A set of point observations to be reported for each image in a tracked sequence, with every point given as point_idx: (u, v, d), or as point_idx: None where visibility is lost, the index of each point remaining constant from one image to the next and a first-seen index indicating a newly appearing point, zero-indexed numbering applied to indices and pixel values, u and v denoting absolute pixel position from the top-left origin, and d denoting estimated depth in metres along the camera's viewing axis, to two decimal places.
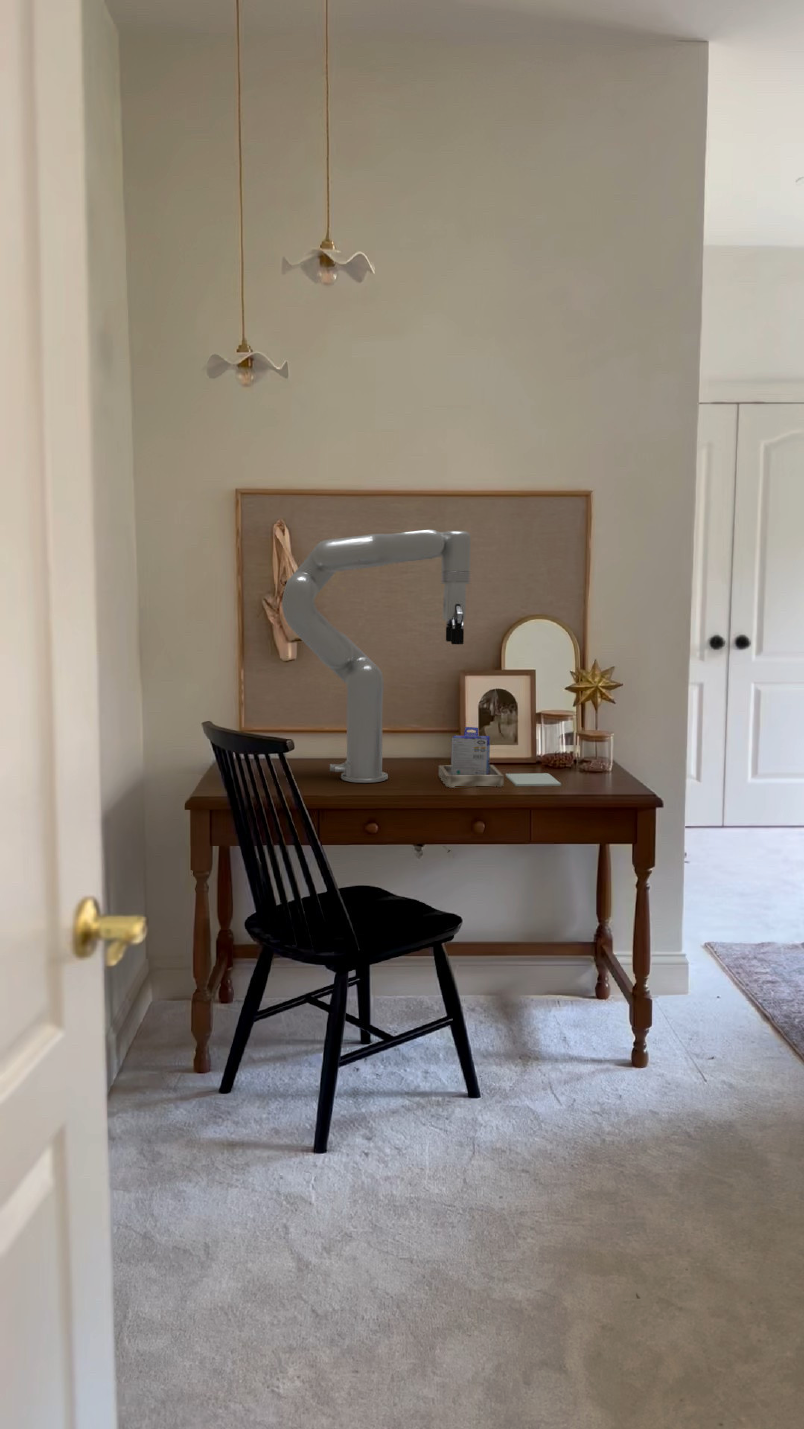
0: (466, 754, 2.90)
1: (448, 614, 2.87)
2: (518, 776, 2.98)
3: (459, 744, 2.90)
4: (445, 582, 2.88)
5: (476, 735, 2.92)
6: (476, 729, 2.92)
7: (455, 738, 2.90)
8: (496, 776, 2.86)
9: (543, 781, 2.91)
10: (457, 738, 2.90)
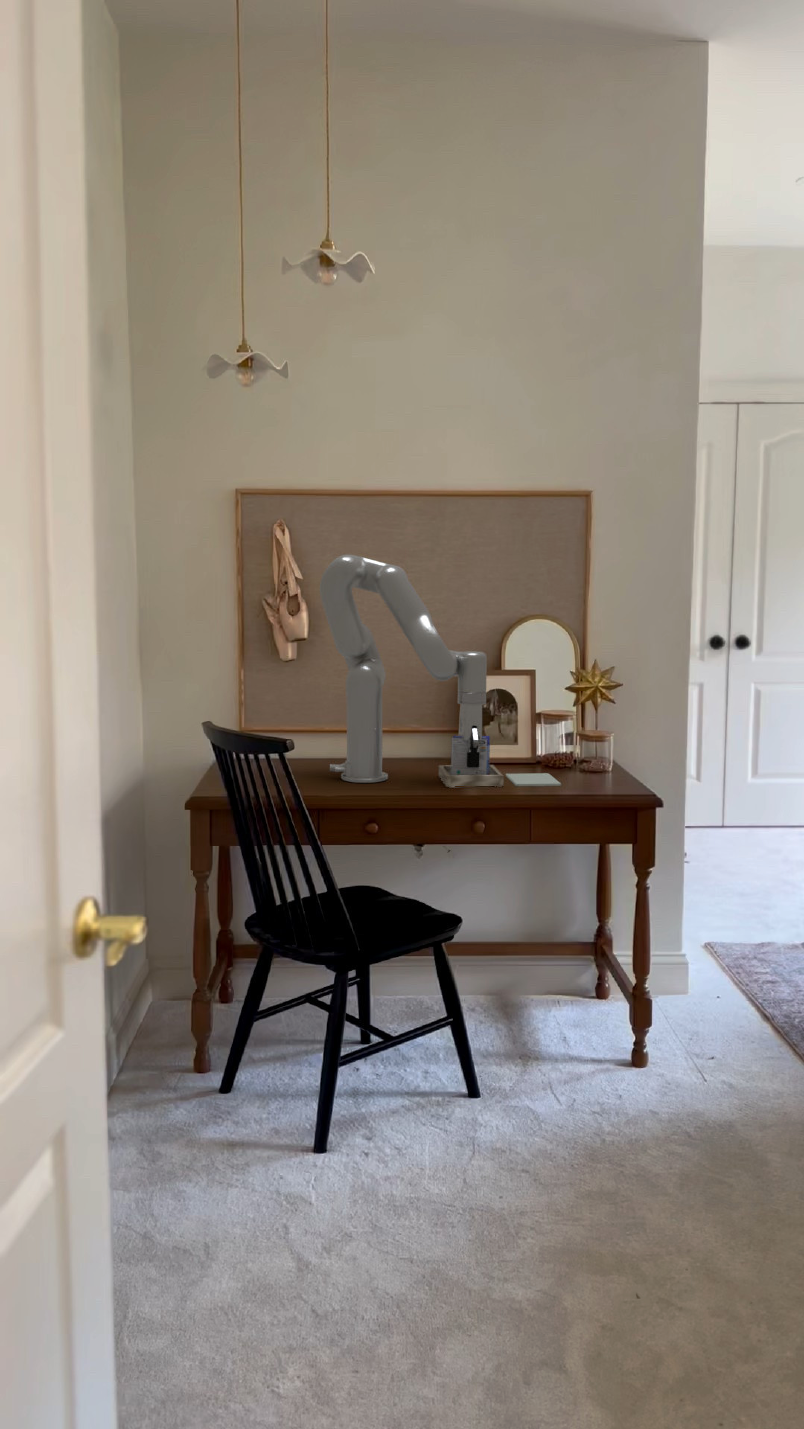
0: (466, 754, 2.90)
1: (464, 735, 2.86)
2: (518, 776, 2.98)
3: (459, 744, 2.90)
4: (461, 703, 2.88)
5: None
6: None
7: (455, 738, 2.90)
8: (496, 776, 2.86)
9: (543, 781, 2.91)
10: (457, 738, 2.90)
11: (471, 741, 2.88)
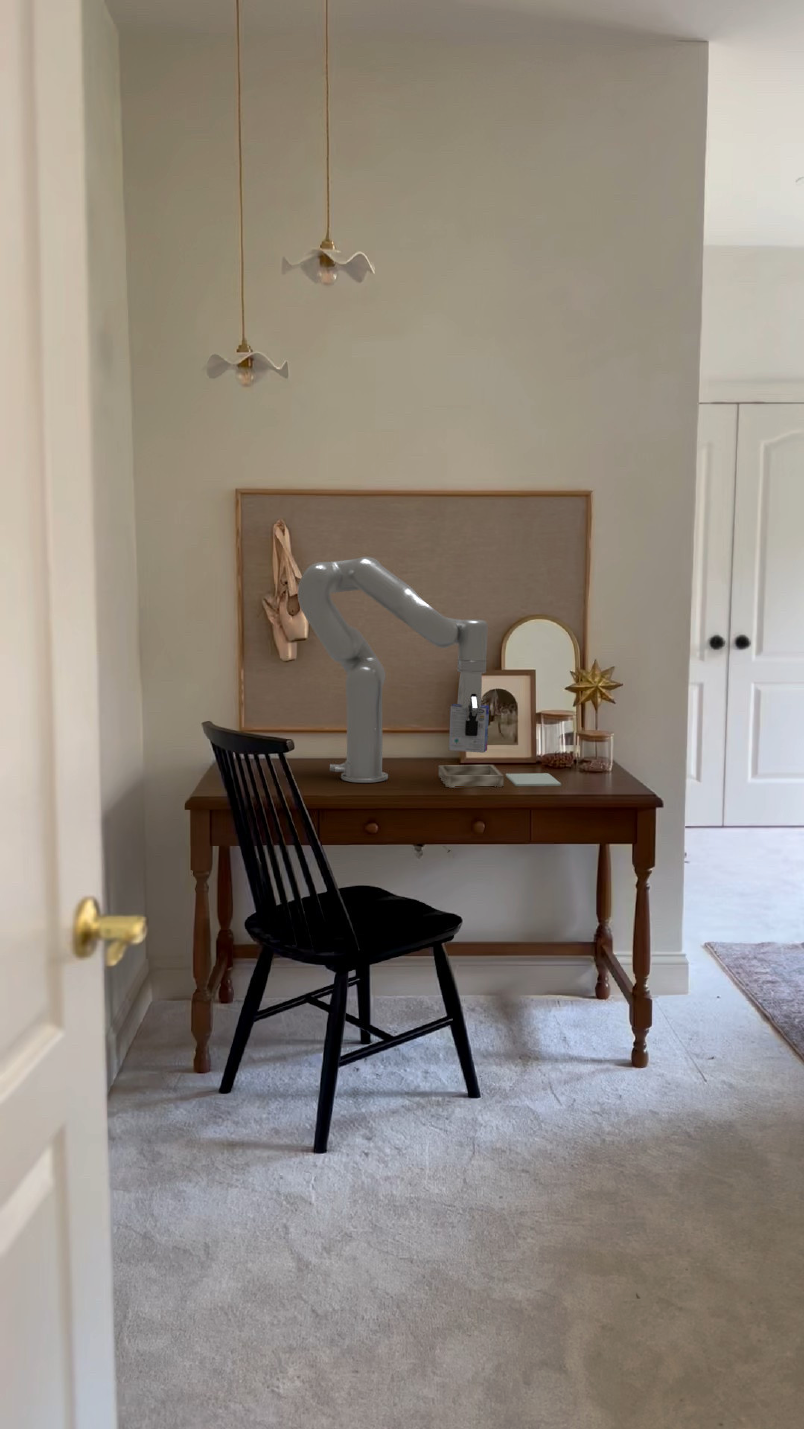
0: (465, 723, 2.89)
1: (464, 703, 2.85)
2: (518, 776, 2.98)
3: (458, 712, 2.89)
4: (461, 671, 2.87)
5: None
6: None
7: (454, 706, 2.89)
8: (496, 776, 2.86)
9: (543, 781, 2.91)
10: (456, 706, 2.89)
11: (470, 709, 2.87)
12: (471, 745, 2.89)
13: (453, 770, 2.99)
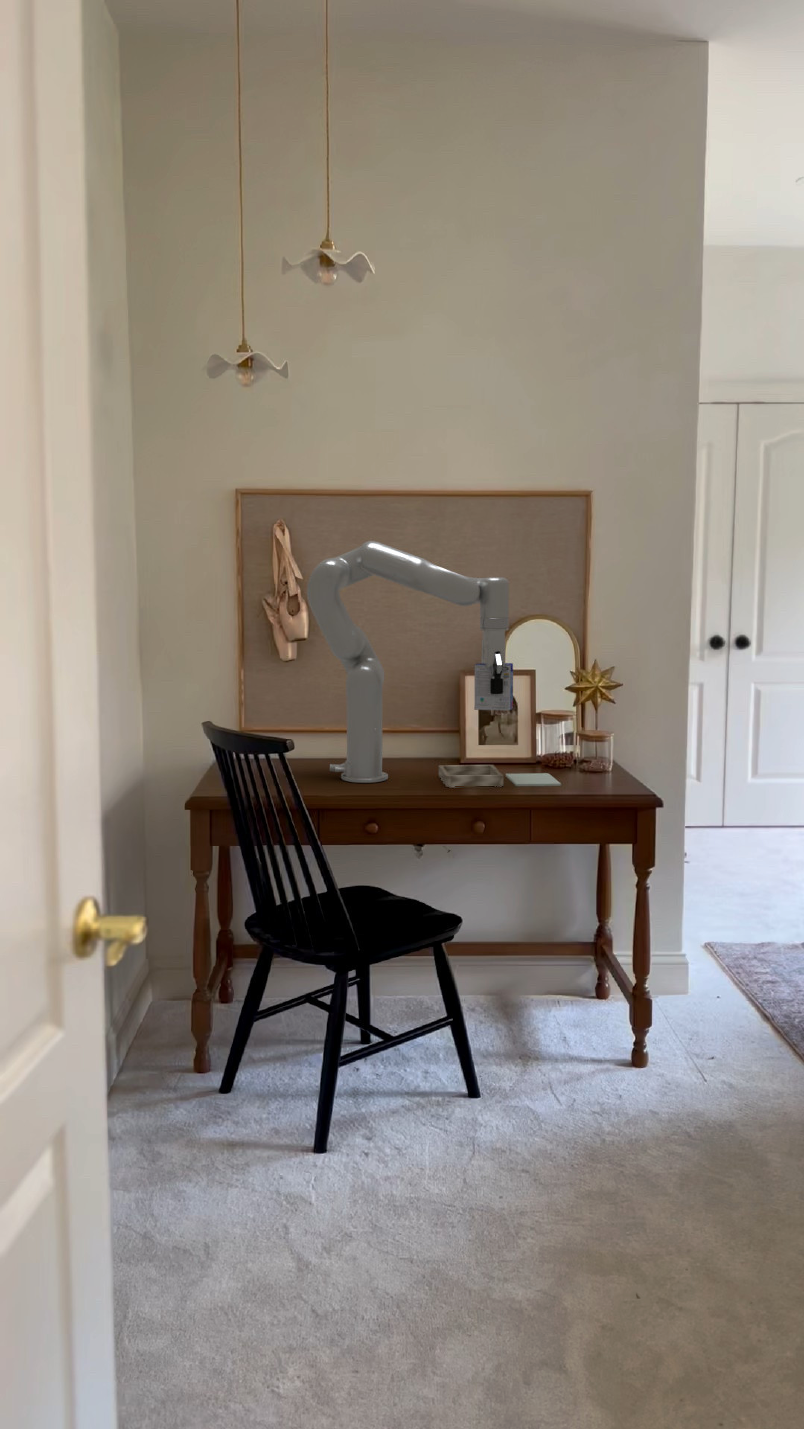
0: (490, 681, 2.88)
1: (488, 661, 2.84)
2: (518, 776, 2.98)
3: (482, 671, 2.88)
4: (484, 629, 2.86)
5: None
6: None
7: (478, 665, 2.88)
8: (496, 776, 2.86)
9: (543, 781, 2.91)
10: (480, 665, 2.88)
11: (494, 667, 2.86)
12: (497, 703, 2.88)
13: (453, 770, 2.99)
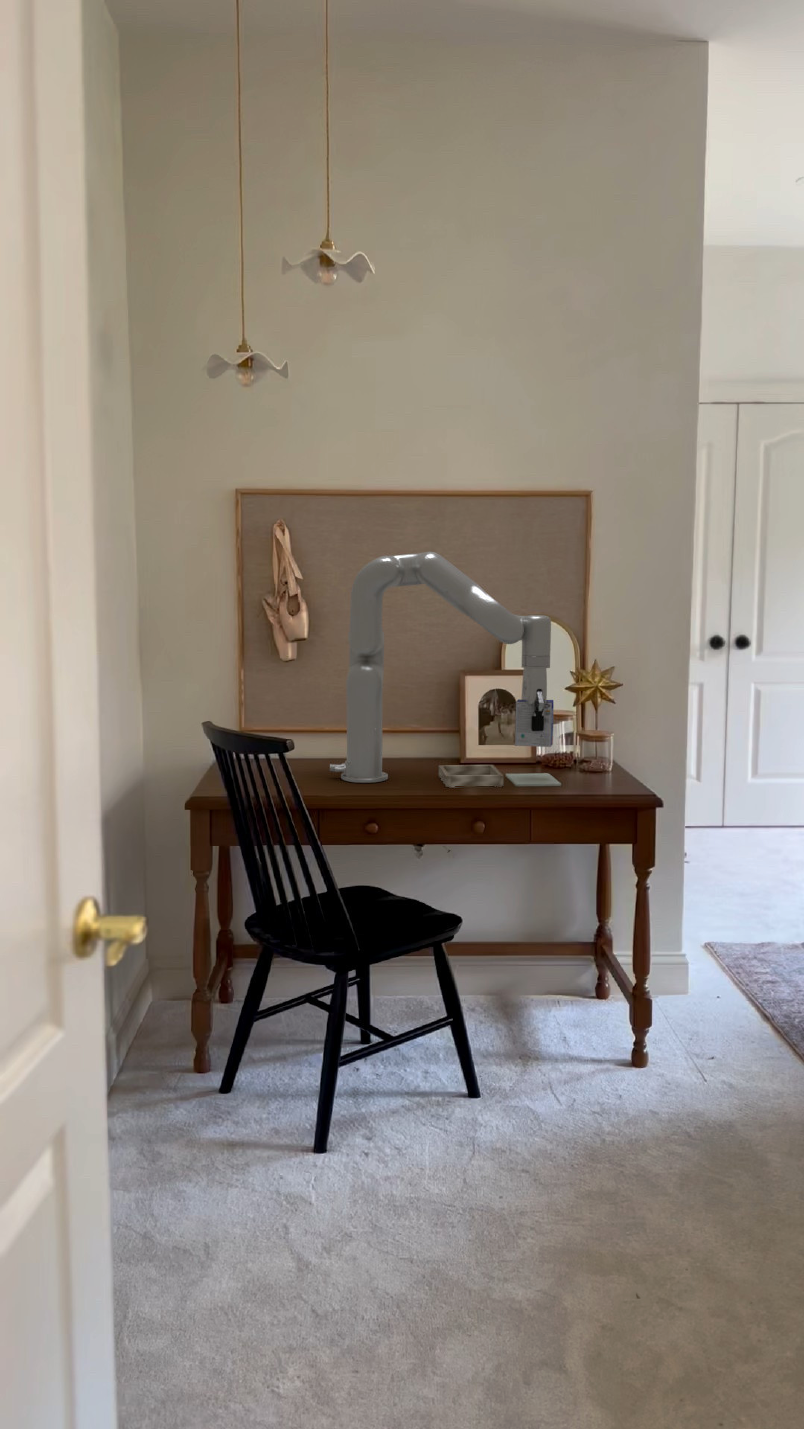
0: (531, 718, 2.90)
1: (529, 699, 2.87)
2: (518, 776, 2.98)
3: (524, 708, 2.90)
4: (526, 666, 2.88)
5: None
6: None
7: (519, 702, 2.90)
8: (496, 776, 2.86)
9: (543, 781, 2.91)
10: (521, 702, 2.90)
11: (536, 705, 2.88)
12: (537, 740, 2.91)
13: (453, 770, 2.99)
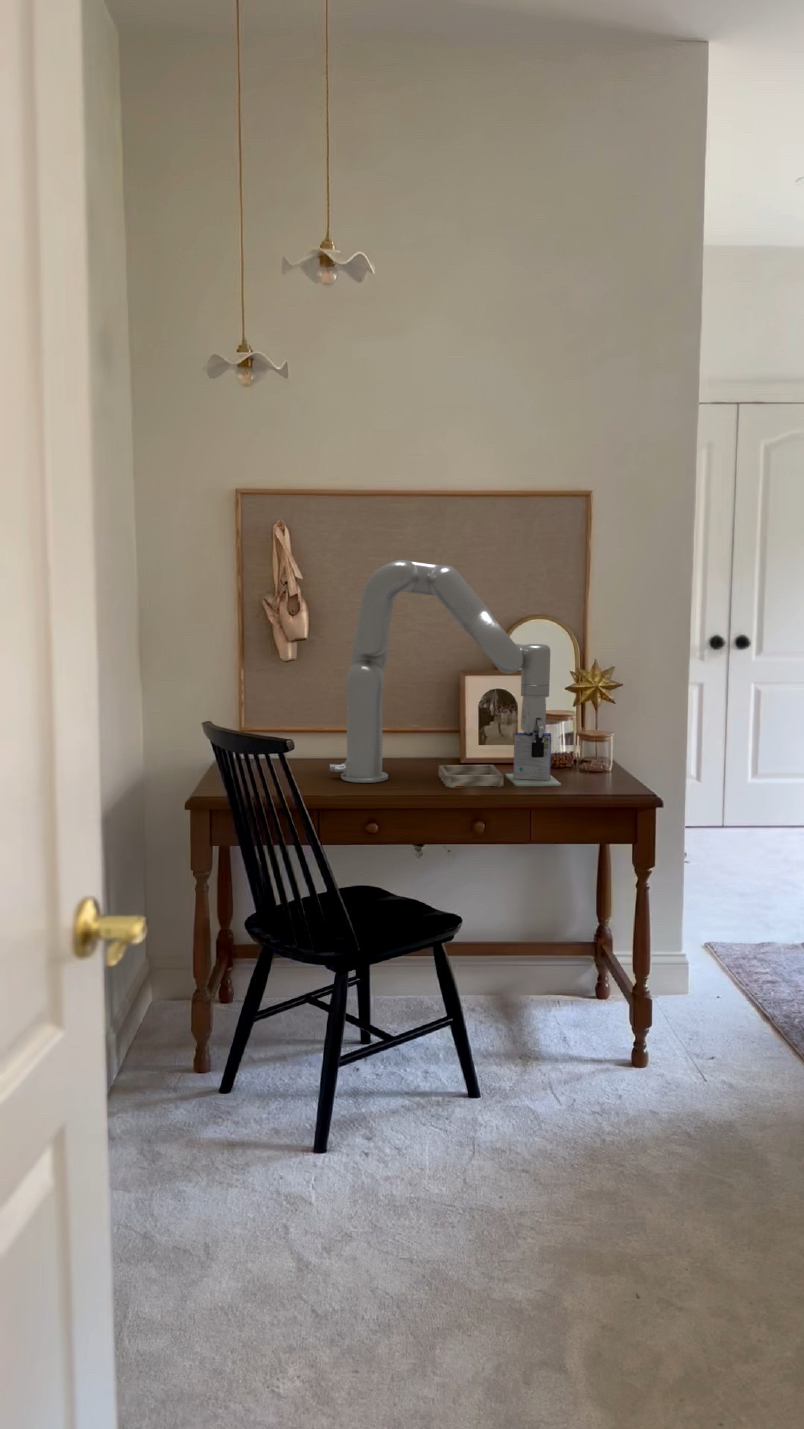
0: (529, 751, 2.92)
1: (529, 728, 2.88)
2: None
3: (522, 741, 2.92)
4: (525, 695, 2.89)
5: None
6: None
7: (518, 735, 2.92)
8: (496, 776, 2.86)
9: (543, 781, 2.91)
10: (520, 735, 2.92)
11: (535, 731, 2.89)
12: (536, 773, 2.92)
13: (453, 770, 2.99)
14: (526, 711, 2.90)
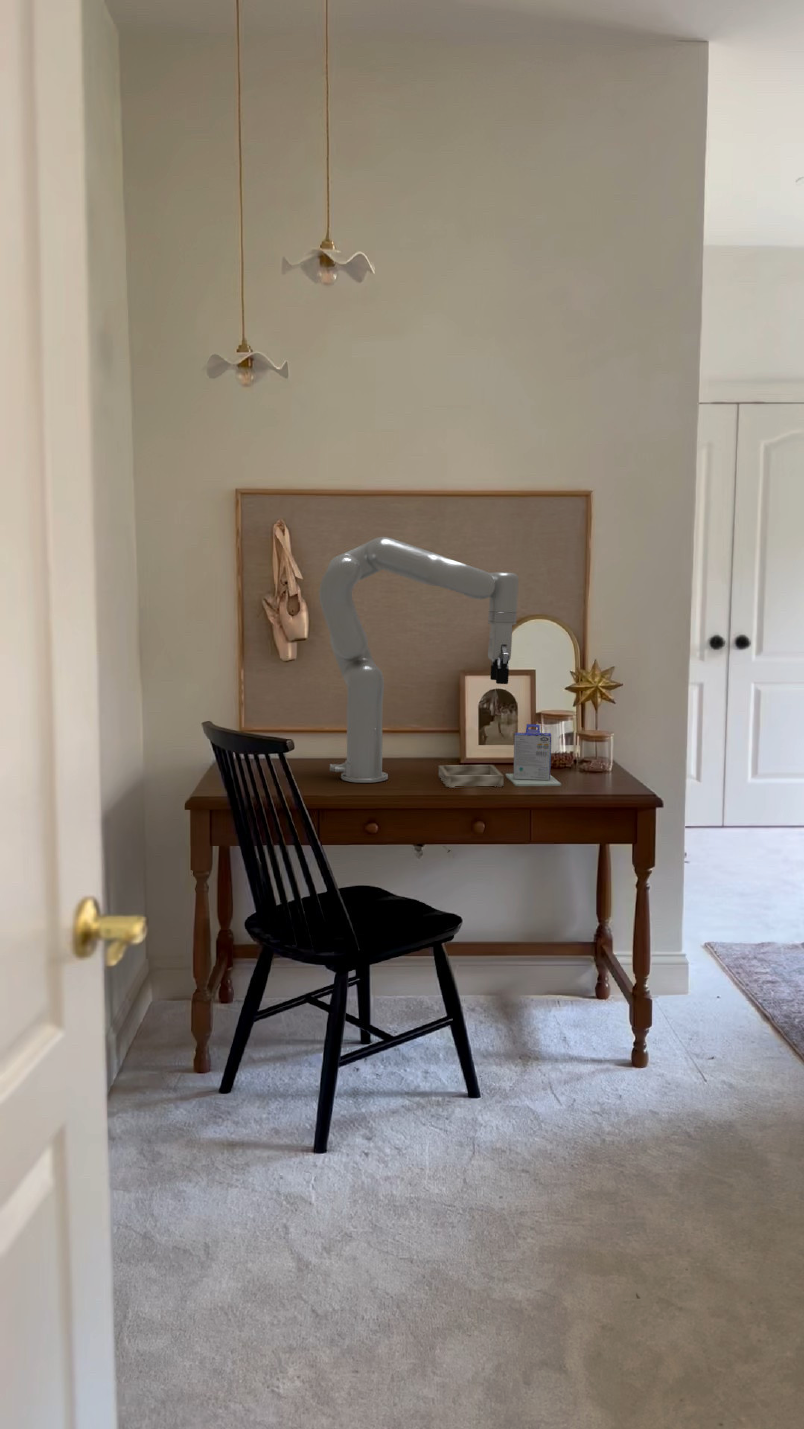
0: (529, 751, 2.92)
1: (494, 654, 2.91)
2: None
3: (522, 741, 2.92)
4: (492, 622, 2.93)
5: (538, 732, 2.94)
6: (538, 726, 2.94)
7: (518, 735, 2.92)
8: (496, 776, 2.86)
9: (543, 781, 2.91)
10: (520, 735, 2.92)
11: (501, 658, 2.92)
12: (536, 773, 2.92)
13: (453, 770, 2.99)
14: (492, 638, 2.93)
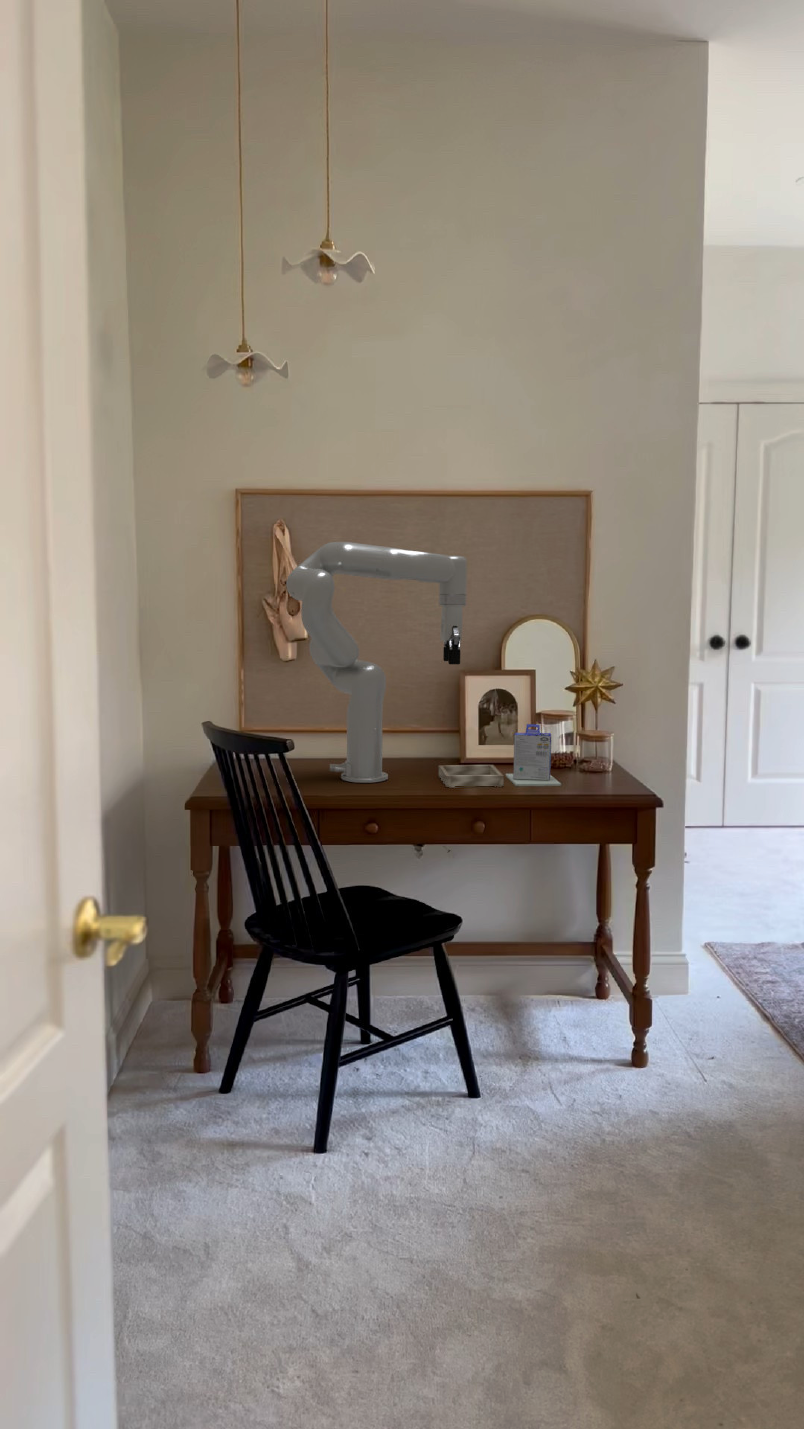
0: (529, 751, 2.92)
1: (445, 635, 2.99)
2: None
3: (522, 741, 2.92)
4: (442, 605, 3.01)
5: (538, 732, 2.94)
6: (538, 726, 2.94)
7: (518, 735, 2.92)
8: (496, 776, 2.86)
9: (543, 781, 2.91)
10: (520, 735, 2.92)
11: (452, 639, 3.00)
12: (536, 773, 2.92)
13: (453, 770, 2.99)
14: (443, 620, 3.01)
